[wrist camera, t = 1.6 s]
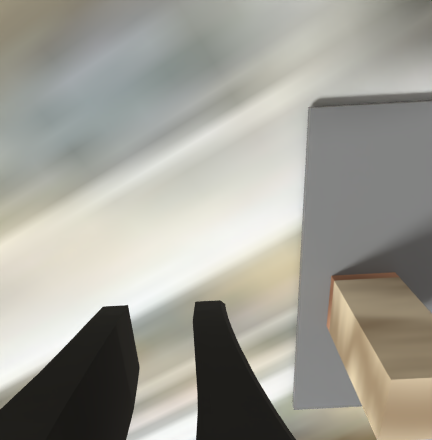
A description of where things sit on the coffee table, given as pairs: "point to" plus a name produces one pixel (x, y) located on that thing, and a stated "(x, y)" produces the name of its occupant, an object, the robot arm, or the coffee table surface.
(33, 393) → the robot arm
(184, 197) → the coffee table surface
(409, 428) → the maple block
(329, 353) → the mat
